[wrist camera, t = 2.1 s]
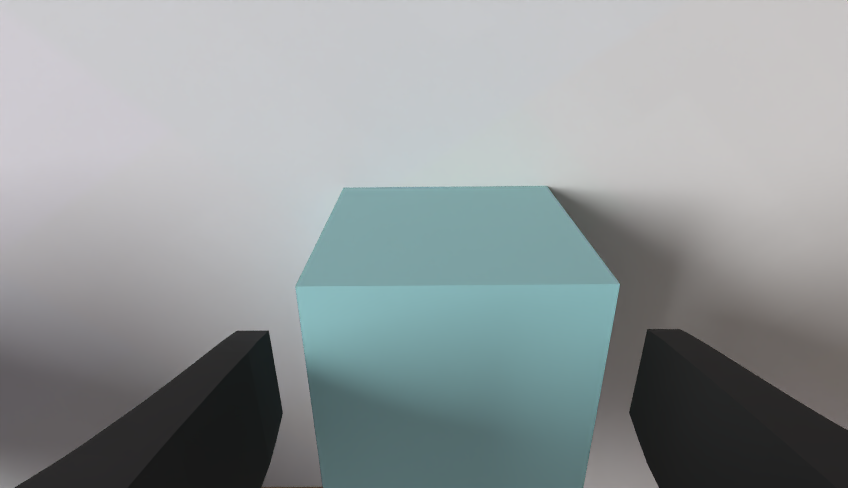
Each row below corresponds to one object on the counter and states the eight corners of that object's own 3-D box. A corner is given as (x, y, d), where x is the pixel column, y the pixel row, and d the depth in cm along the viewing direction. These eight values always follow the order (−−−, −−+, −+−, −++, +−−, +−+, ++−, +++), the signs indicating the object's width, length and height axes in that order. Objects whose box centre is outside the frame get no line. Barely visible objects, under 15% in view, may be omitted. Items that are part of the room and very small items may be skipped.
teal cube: (357, 351, 14) (325, 508, 10) (344, 187, 12) (294, 286, 7) (529, 350, 14) (579, 506, 10) (546, 185, 12) (620, 284, 7)
